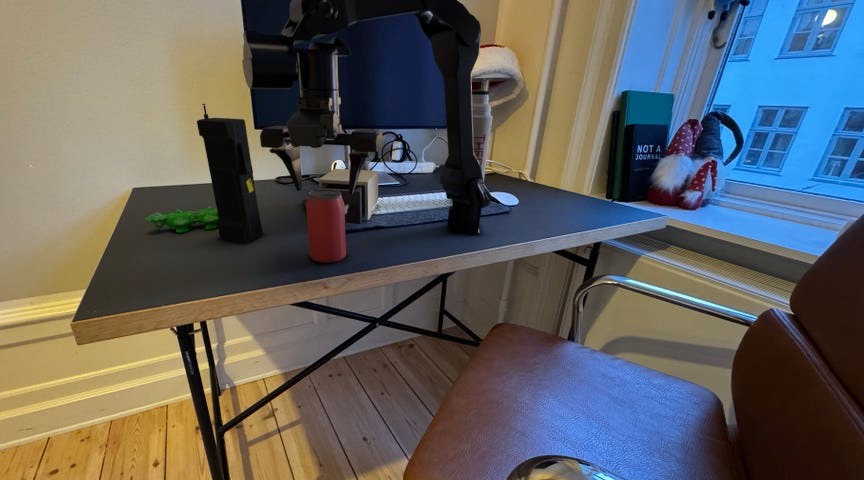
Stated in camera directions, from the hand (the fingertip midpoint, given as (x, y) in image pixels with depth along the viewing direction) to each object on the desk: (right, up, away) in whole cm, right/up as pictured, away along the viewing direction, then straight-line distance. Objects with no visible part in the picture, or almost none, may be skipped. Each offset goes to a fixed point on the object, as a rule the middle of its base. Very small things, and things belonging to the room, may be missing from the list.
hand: (325, 192), depth 62 cm
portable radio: (-19, -7, +14) cm, 24 cm away
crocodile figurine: (-31, -4, +18) cm, 36 cm away
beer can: (0, -11, +5) cm, 12 cm away
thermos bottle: (+33, +5, +40) cm, 52 cm away
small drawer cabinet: (+2, +2, +31) cm, 31 cm away
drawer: (0, -1, +23) cm, 23 cm away
